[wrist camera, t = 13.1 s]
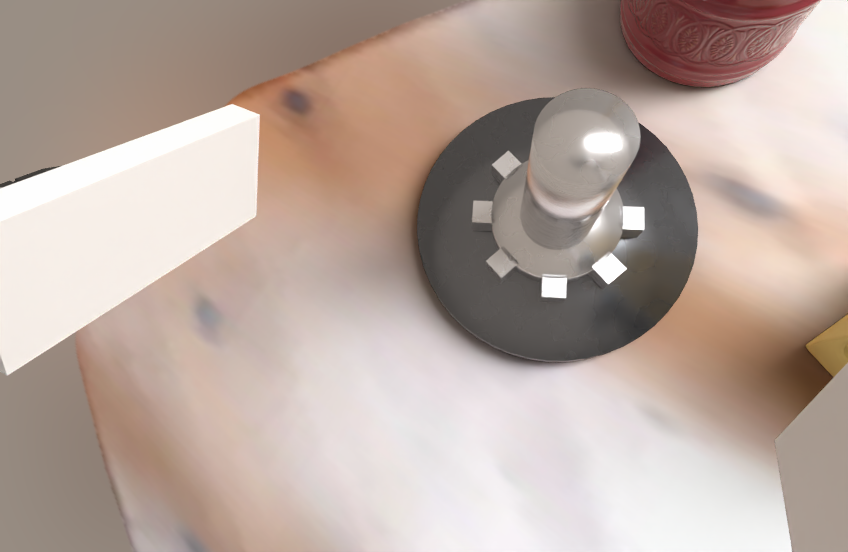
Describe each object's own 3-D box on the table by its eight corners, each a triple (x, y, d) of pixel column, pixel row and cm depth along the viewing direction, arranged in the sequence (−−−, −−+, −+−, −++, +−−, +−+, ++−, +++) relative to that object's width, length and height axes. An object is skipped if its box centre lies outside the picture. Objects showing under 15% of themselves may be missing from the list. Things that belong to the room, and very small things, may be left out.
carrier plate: (688, 109, 42) (696, 98, 41) (692, 372, 38) (701, 371, 37) (430, 105, 45) (428, 94, 43) (408, 351, 41) (405, 349, 39)
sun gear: (637, 151, 40) (711, 28, 27) (636, 307, 38) (717, 258, 25) (478, 147, 42) (473, 28, 28) (468, 297, 40) (457, 245, 26)
